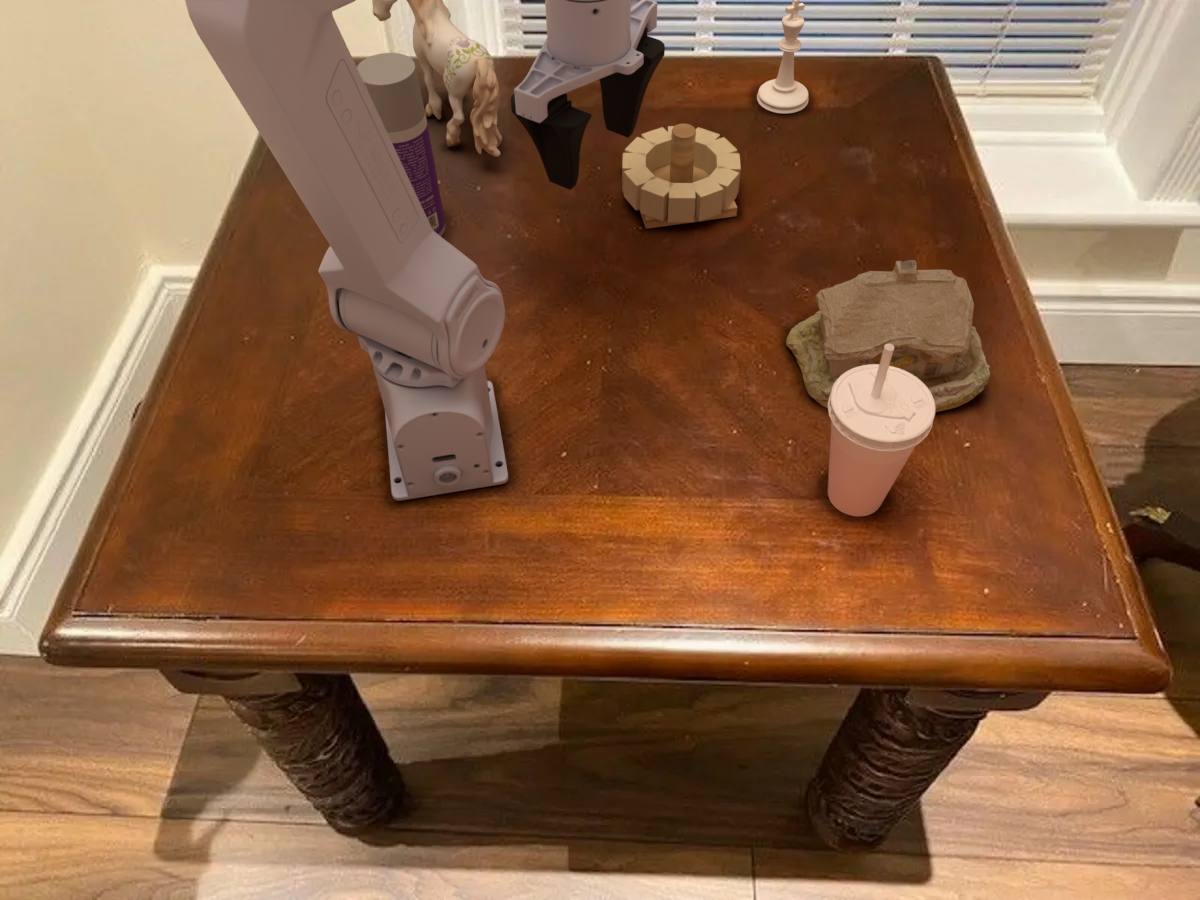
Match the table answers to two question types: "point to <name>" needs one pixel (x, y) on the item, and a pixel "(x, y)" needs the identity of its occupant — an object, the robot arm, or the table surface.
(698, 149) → the block ring
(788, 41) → the chess piece
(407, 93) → the container
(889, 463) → the smoothie
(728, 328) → the table surface
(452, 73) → the unicorn figurine
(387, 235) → the robot arm
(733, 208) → the post stand
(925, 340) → the ceramic model
